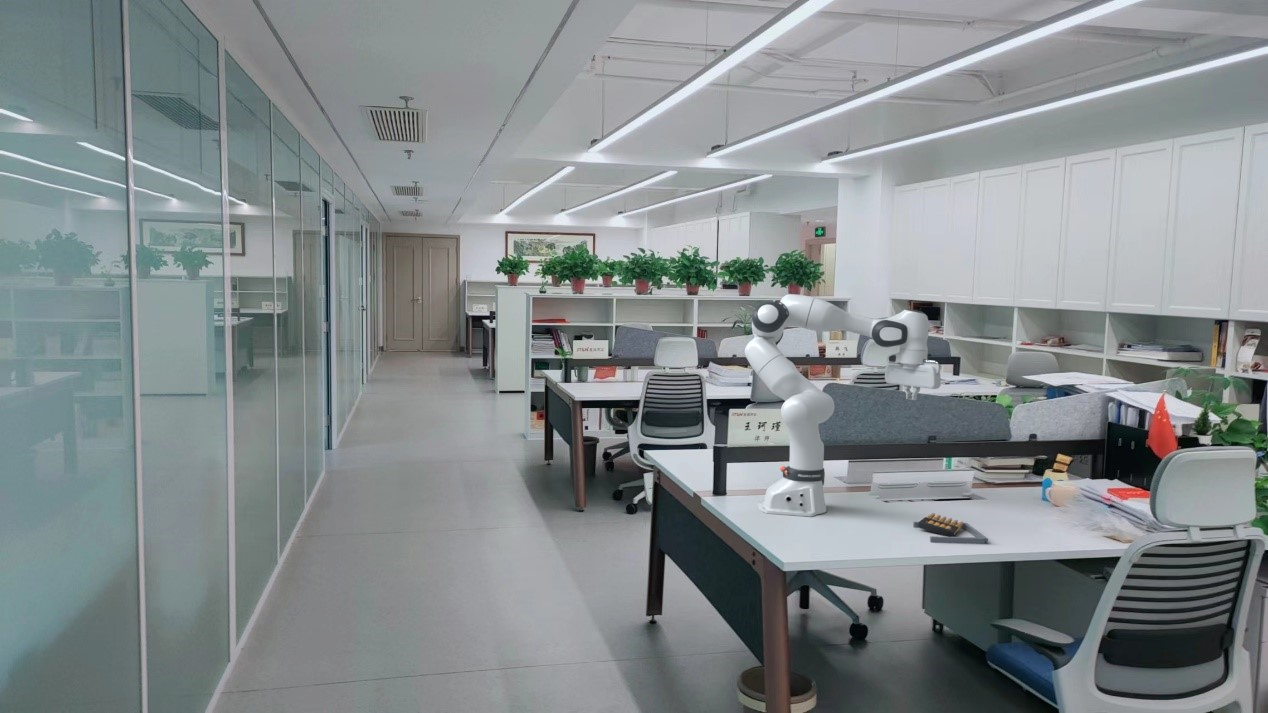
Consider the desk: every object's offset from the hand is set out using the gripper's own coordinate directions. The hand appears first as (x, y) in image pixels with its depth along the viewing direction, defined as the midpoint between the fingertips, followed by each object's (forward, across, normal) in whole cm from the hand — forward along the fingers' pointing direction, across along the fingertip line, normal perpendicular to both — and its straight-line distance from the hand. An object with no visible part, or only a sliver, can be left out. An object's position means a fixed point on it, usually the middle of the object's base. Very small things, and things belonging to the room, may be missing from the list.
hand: (911, 399), depth 287 cm
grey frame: (+37, -28, +14) cm, 49 cm away
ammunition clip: (+36, -25, +18) cm, 47 cm away
